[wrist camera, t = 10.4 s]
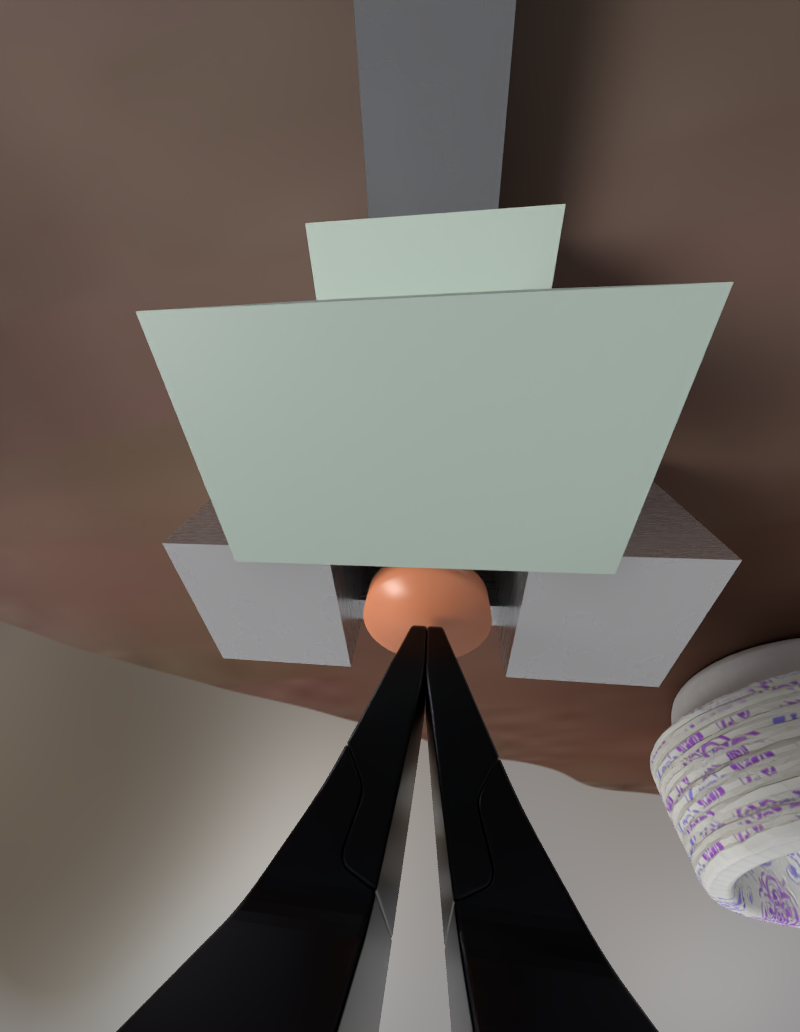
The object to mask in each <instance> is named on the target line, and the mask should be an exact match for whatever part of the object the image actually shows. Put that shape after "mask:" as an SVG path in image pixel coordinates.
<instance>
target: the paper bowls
mask: <svg viewBox="0 0 800 1032" xmlns="http://www.w3.org/2000/svg"><path fill="white" fill-rule="evenodd" d="M671 723H672V725H671V726H670V727H669V728H668V729H667V730H666V731H665V732H664V733H663V734H662V735H661V736H660V737H659V738H658V740H657V741H656V743H655V745H654V749H653V750H652V752H651V757H650V768H651V773H652V776H653V778H654V781H655V783H656V785H657V788H658V791H659V793H660V795H661V798H662V800H663V802H664V804H665V806H666V809H667V813H668V815H669V817H670V819H671V820H672V823H673V825H674V827H675V829H676V831H677V832H678V835H679V838H680V840H681V842H682V843H683V845H684V846H685V850H686V851H687V854H688V856H689V858H690V860H691V862H692V864H693V868H694V870H695V873H696V876H697V878H698V879H699V881H700V883H701V884H702V886H703V887H704V889H705V890H706V892H707V893H708V894H709V895H710V897H711V898H712V899H714V900H715V901H716V902H717V903H719V904H720V905H722V906H723V907H725V908H727V909H729V910H731V911H733V912H736V913H739V914H741V915H744V916H747V917H750V918H753V919H757V920H761V921H765V922H770V923H775V924H779V925H785V926H791V927H796V928H800V638H797V639H789V640H783V641H778V642H773V643H769V644H764V645H760V646H757V647H753V648H750V649H746V650H744V651H741V652H738V653H735V654H732V655H730V656H728V657H725V658H723V659H721V660H719V661H717V662H715V663H713V664H711V665H709V666H708V667H706V668H704V669H703V670H701V671H700V672H698V673H697V674H696V675H694V676H693V677H692V678H691V679H690V680H689V681H688V682H687V683H686V684H685V685H684V686H683V687H682V688H681V689H680V691H679V692H678V694H677V696H676V698H675V700H674V702H673V706H672V712H671Z"/></svg>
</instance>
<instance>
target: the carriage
mask: <svg viewBox="0 0 800 1032" xmlns="http://www.w3.org/2000/svg"><path fill="white" fill-rule="evenodd" d="M565 205H566V204H557V205H543V206H530V207H517V208H503V209H490V210H477V211H463V212H450V213H436V214H423V215H410V216H396V217H383V218H370V219H356V220H343V221H330V222H316V223H305V225H306V231H307V238H308V245H309V252H310V258H311V265H312V272H313V279H314V285H315V292H316V299H317V300H312V301H295V302H279V303H263V304H247V305H230V306H214V307H198V308H182V309H166V310H149V311H136V314H137V316H138V319H139V321H140V324H141V326H142V329H143V331H144V334H145V336H146V339H147V341H148V344H149V346H150V349H151V351H152V354H153V356H154V359H155V361H156V364H157V366H158V369H159V371H160V374H161V376H162V379H163V381H164V384H165V386H166V389H167V391H168V394H169V396H170V399H171V401H172V404H173V406H174V409H175V411H176V414H177V416H178V419H179V421H180V424H181V426H182V429H183V431H184V434H185V436H186V439H187V441H188V444H189V446H190V449H191V451H192V454H193V456H194V459H195V461H196V464H197V466H198V469H199V471H200V474H201V476H202V479H203V481H204V484H205V486H206V489H207V491H208V494H209V496H210V499H211V501H212V504H213V506H214V509H215V511H216V514H217V516H218V519H219V521H220V524H221V526H222V529H223V531H224V534H225V536H226V539H227V541H228V544H229V546H230V549H231V551H232V554H233V557H234V559H235V561H238V562H267V563H296V564H325V565H354V566H383V567H412V568H440V569H469V570H498V571H527V572H556V573H585V574H614V575H615V573H616V571H617V568H618V566H619V564H620V561H621V559H622V556H623V554H624V551H625V549H626V546H627V544H628V541H629V539H630V536H631V534H632V531H633V529H634V527H635V524H636V522H637V519H638V517H639V514H640V512H641V509H642V507H643V504H644V502H645V499H646V497H647V494H648V492H649V490H650V487H651V485H652V482H653V480H654V477H655V475H656V472H657V470H658V467H659V465H660V462H661V460H662V457H663V455H664V453H665V450H666V448H667V445H668V443H669V440H670V438H671V435H672V433H673V430H674V428H675V425H676V423H677V420H678V418H679V416H680V413H681V411H682V408H683V406H684V403H685V401H686V398H687V396H688V393H689V391H690V388H691V386H692V383H693V381H694V379H695V376H696V374H697V371H698V369H699V366H700V364H701V361H702V359H703V356H704V354H705V351H706V349H707V346H708V344H709V342H710V339H711V337H712V334H713V332H714V329H715V327H716V324H717V322H718V319H719V317H720V314H721V312H722V309H723V307H724V305H725V302H726V300H727V297H728V295H729V292H730V290H731V287H732V285H733V282H716V283H689V284H661V285H634V286H606V287H579V288H552V283H553V277H554V271H555V265H556V259H557V253H558V247H559V241H560V235H561V229H562V223H563V217H564V211H565Z"/></svg>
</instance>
